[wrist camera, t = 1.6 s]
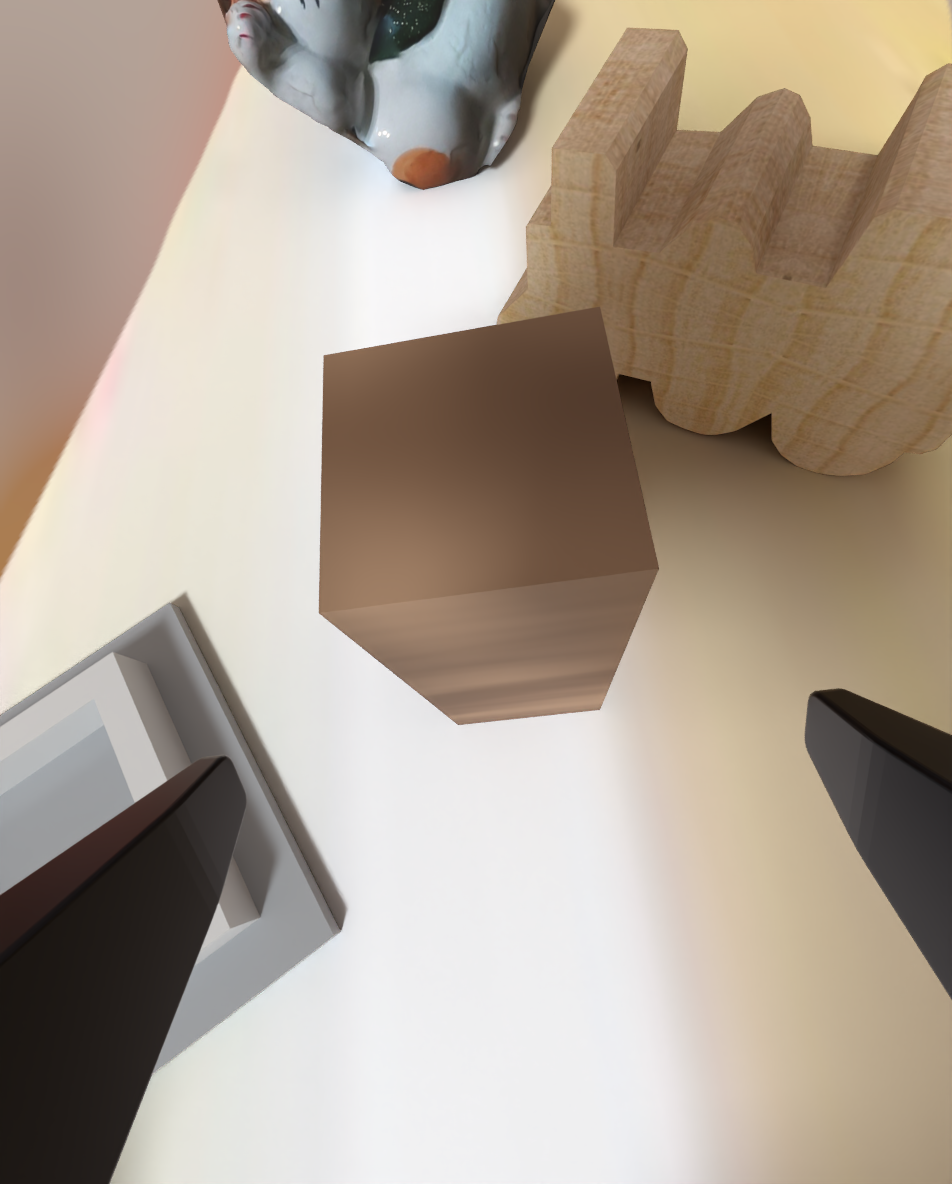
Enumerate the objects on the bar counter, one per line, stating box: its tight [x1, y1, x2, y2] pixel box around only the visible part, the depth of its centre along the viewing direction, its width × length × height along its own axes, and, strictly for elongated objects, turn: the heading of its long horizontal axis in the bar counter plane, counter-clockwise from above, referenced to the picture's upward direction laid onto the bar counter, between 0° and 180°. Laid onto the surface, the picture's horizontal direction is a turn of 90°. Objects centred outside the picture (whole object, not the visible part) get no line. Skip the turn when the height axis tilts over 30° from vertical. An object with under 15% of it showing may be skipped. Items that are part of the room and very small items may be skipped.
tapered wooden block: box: [319, 307, 659, 725], centre depth 15 cm, size 5×5×12 cm
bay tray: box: [0, 603, 341, 1075], centre depth 19 cm, size 14×14×2 cm
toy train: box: [497, 28, 952, 476], centre depth 19 cm, size 6×17×10 cm, turn 64°
